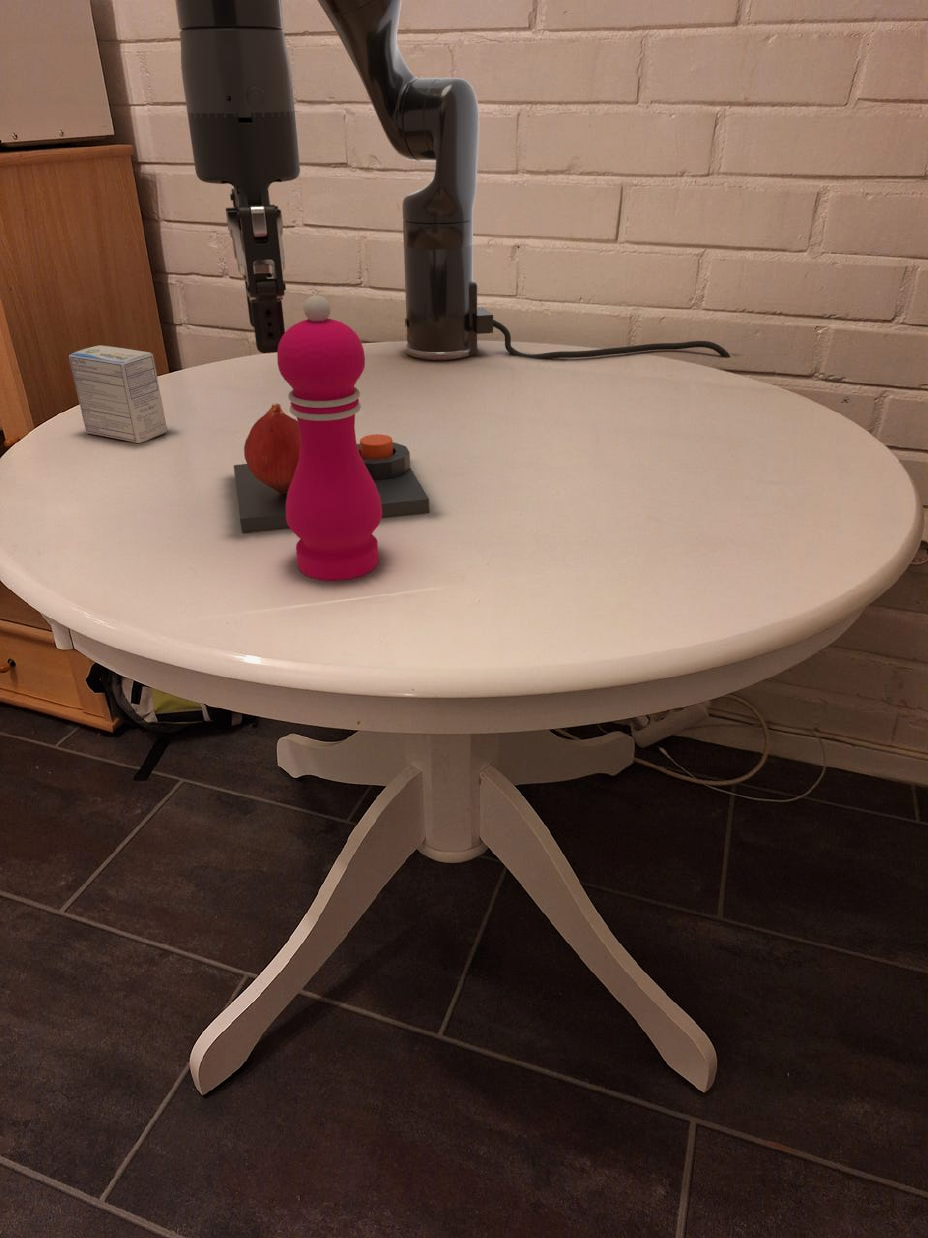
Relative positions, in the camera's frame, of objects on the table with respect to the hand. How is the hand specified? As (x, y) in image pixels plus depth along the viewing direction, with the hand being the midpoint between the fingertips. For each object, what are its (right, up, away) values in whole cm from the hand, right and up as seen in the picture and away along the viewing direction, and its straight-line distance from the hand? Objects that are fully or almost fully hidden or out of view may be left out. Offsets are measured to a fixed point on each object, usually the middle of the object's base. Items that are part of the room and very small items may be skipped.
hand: (267, 338), depth 73 cm
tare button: (+8, -7, +11) cm, 16 cm away
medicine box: (-21, -3, +25) cm, 33 cm away
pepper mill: (+6, -18, -2) cm, 19 cm away
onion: (0, -12, +7) cm, 14 cm away
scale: (+3, -11, +10) cm, 15 cm away
